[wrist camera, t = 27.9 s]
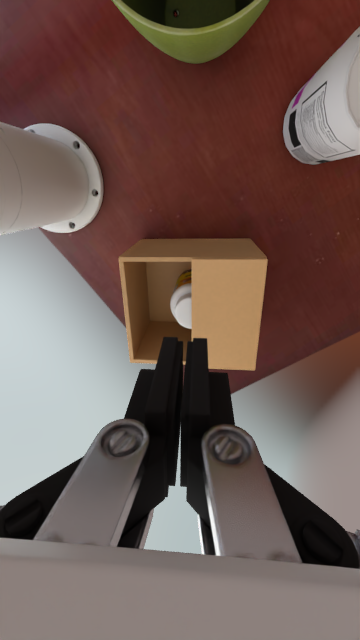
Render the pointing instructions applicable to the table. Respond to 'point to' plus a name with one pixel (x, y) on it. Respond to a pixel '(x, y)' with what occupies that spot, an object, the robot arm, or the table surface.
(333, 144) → the supplement can
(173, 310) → the supplement bottle
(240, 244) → the carton
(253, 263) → the flap
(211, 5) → the flower pot
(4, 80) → the table surface
